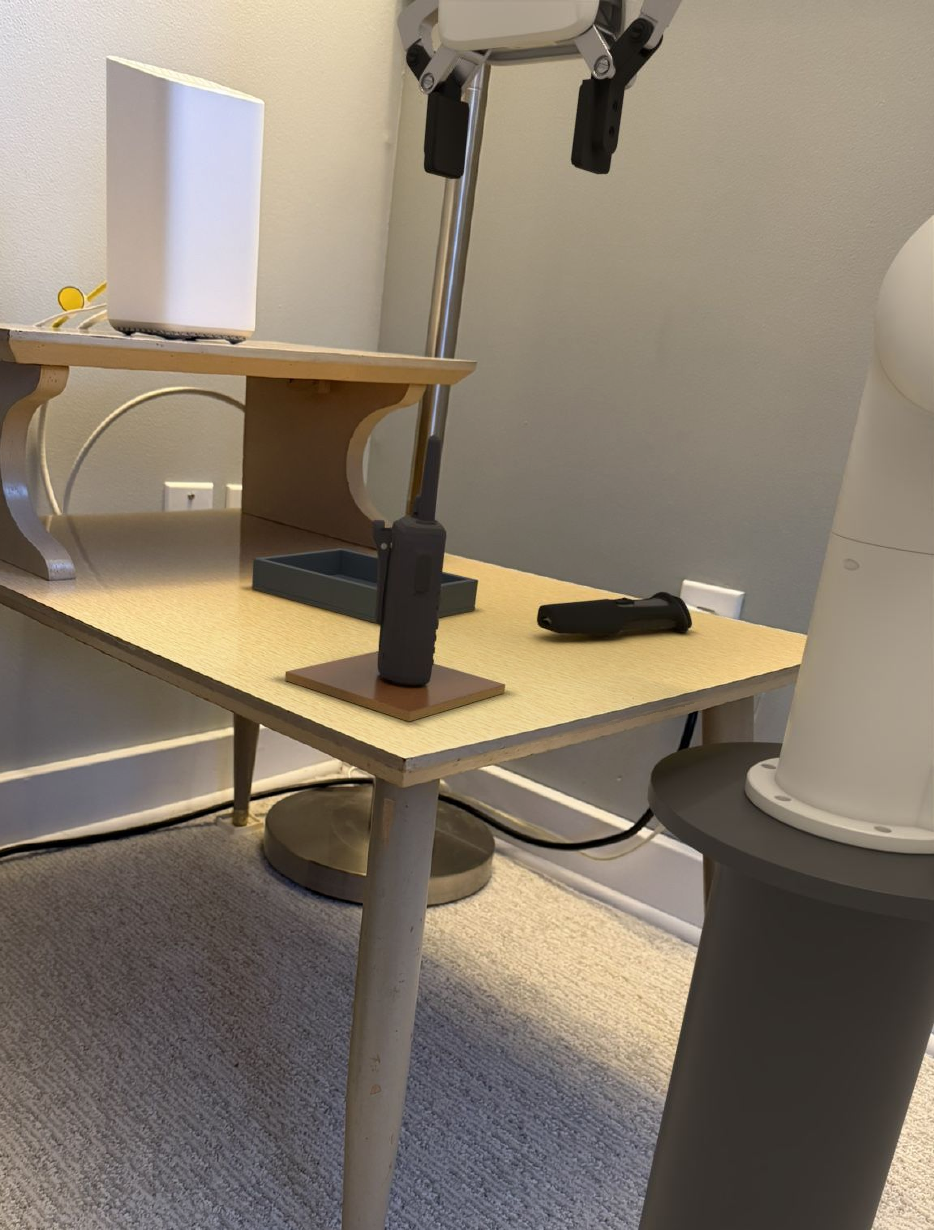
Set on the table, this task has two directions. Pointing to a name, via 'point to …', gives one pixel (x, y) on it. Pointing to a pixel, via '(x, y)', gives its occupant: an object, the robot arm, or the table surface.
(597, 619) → the electric trimmer
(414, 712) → the cork pad
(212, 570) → the table surface
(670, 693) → the table surface
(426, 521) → the two-way radio
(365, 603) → the tray
